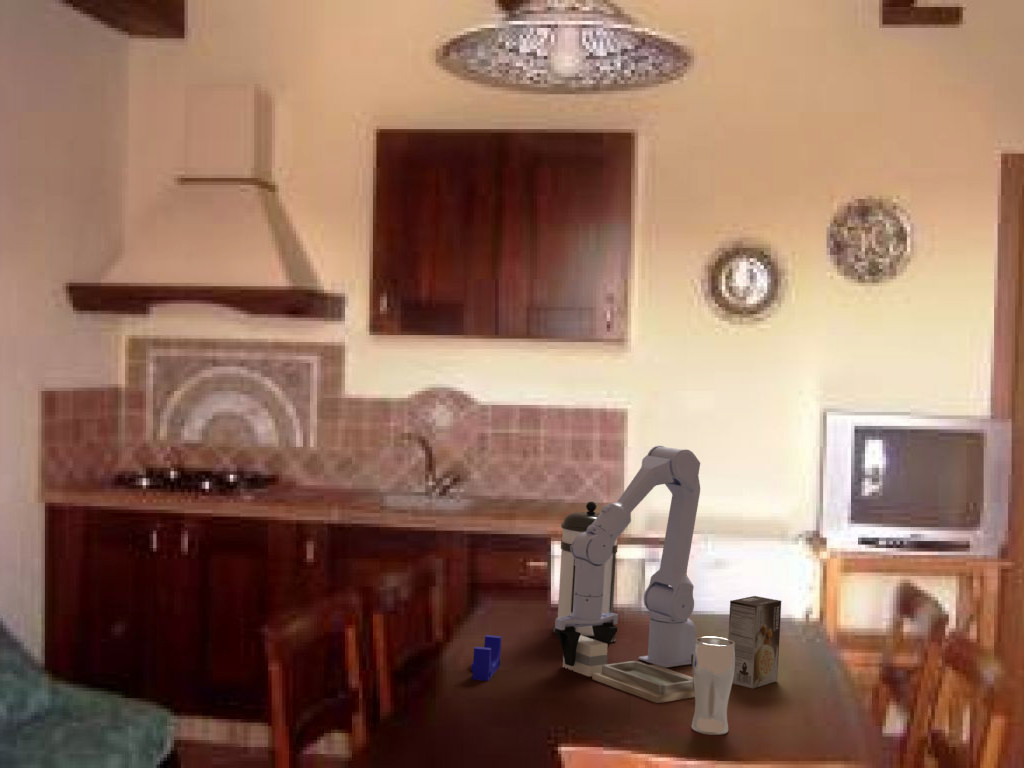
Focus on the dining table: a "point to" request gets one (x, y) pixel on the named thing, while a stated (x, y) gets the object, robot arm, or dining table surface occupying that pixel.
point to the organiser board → (647, 681)
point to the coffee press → (571, 529)
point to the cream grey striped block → (589, 656)
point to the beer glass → (712, 683)
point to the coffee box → (755, 640)
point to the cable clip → (487, 658)
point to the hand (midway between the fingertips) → (584, 662)
